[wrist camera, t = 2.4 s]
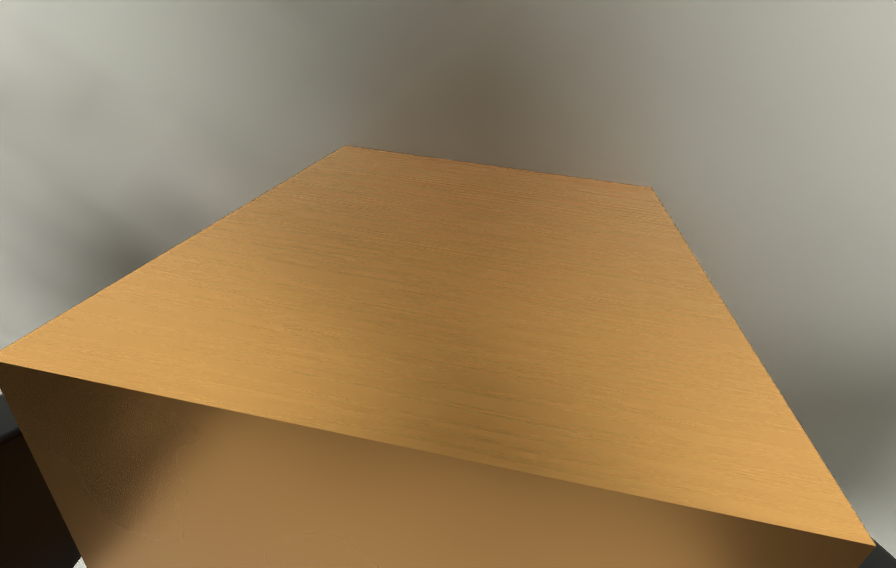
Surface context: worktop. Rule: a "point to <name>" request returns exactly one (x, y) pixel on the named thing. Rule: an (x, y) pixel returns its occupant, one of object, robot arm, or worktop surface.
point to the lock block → (423, 389)
